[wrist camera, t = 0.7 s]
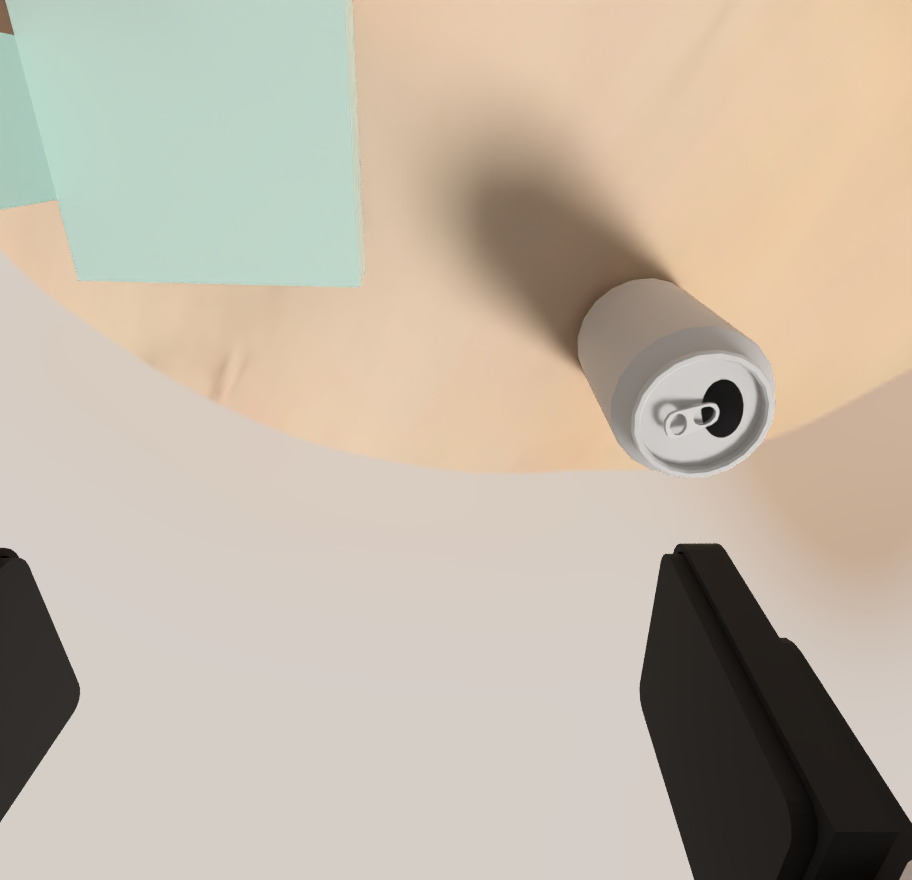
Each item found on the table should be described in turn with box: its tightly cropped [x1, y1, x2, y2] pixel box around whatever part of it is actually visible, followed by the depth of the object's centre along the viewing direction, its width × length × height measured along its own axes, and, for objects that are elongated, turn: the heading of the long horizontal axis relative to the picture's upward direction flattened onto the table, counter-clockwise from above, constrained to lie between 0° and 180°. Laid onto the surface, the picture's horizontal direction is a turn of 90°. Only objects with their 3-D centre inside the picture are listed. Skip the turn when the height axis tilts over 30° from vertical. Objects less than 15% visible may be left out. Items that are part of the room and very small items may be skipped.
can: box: [578, 278, 776, 478], centre depth 32 cm, size 8×8×12 cm
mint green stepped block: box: [0, 0, 365, 287], centre depth 24 cm, size 13×16×7 cm
